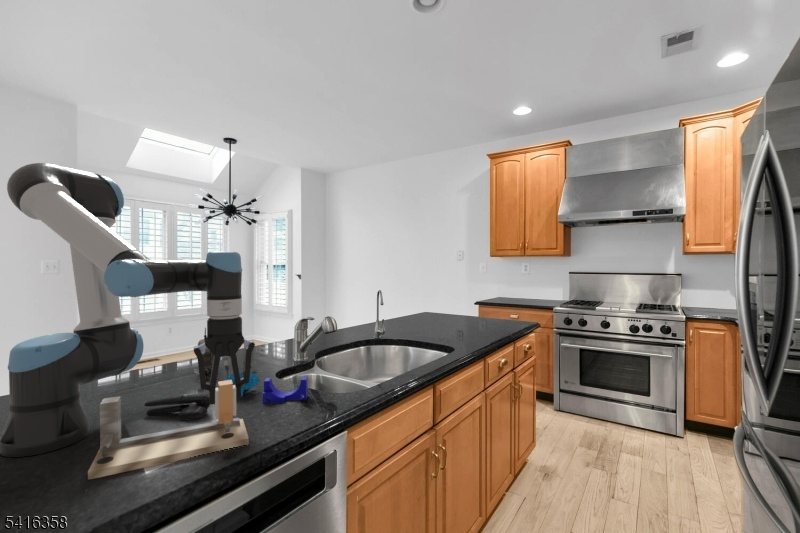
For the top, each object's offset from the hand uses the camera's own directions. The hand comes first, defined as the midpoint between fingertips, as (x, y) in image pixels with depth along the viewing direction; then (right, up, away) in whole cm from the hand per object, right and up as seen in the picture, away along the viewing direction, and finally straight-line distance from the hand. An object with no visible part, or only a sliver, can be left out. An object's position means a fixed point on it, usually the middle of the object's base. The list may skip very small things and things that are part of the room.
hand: (225, 415), depth 91 cm
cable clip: (+8, -4, +21) cm, 23 cm away
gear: (-8, -4, +26) cm, 28 cm away
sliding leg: (+1, -2, -2) cm, 3 cm away
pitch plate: (-7, -4, -8) cm, 11 cm away
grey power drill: (-30, -4, +50) cm, 59 cm away
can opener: (-18, -4, +11) cm, 21 cm away
